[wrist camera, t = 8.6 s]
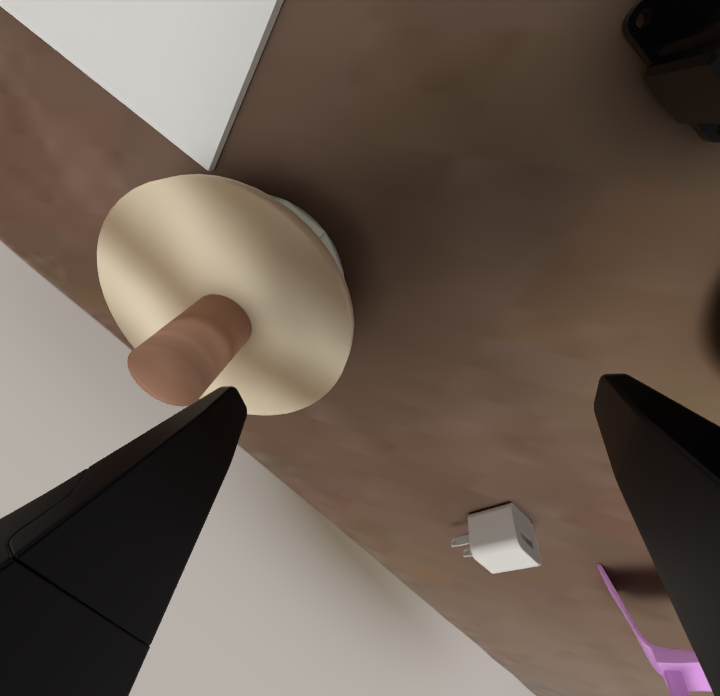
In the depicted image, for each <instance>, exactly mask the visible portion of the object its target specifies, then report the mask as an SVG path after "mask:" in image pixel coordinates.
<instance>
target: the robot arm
mask: <svg viewBox="0 0 720 696" xmlns="http://www.w3.org/2000/svg"><path fill="white" fill-rule="evenodd" d="M641 11H643V12H645V13H646V15H647V19H646V22H645V24H644V25H643V26H642V27H641V28H639V27H637V26H636V18H637V16H638V14H639V13H640V12H641ZM623 32H624V34H625V36H626V38H627V39H628V40H629V42H630V43H631V44H632V46H633V47H634V48H635V49H636V51H637V52H638V53H639V55H640V56H641V57H642V59H643V60H644V61H645V63H646V64H647V65H648V68H647V69H646V72H645V80H646V81H647V82H648V84H649V85H650V86H651V88H652V89H653V90H654V92H655V93H656V94H657V95H658V97H659V98H660V99H661V101H662V102H663V103H664V105H665V106H666V107H667V108H668V110H669V111H670V112H671V114H672V115H673V116H674V118H675V119H676V120H677V121H678V122H679V123H692V125H693V126H694V127H695V129H696V130H697V131H698V133H699V134H700V135H701V137H702V138H703V139H704V140H705V141H707V142H718V143H719V142H720V133H719V134H716V129H717V127H718V126H719V125H720V0H639V1H638V2H637V4H636V5H635V6H634V7H633V8H632V9H631V10H630V12H629V13H628V14H627V16H626V18H625V20H624V23H623ZM594 411H595V415H596V419H597V422H598V425H599V428H600V431H601V435H602V438H603V441H604V444H605V447H606V450H607V454H608V457H609V460H610V463H611V466H612V469H613V472H614V475H615V478H616V481H617V483H618V485H619V488H620V490H621V492H622V495H623V497H624V499H625V501H626V503H627V506H628V508H629V510H630V512H631V514H632V517H633V519H634V521H635V523H636V525H637V527H638V530H639V532H640V534H641V536H642V538H643V541H644V543H645V545H646V547H647V549H648V552H649V554H650V556H651V558H652V560H653V563H654V565H655V567H656V569H657V571H658V574H659V576H660V578H661V580H662V582H663V584H664V587H665V589H666V591H667V593H668V595H669V598H670V600H671V602H672V604H673V606H674V609H675V611H676V613H677V615H678V617H679V620H680V622H681V624H682V626H683V628H684V631H685V633H686V635H687V637H688V639H689V641H690V644H691V646H692V648H693V650H694V652H695V655H696V657H697V659H698V661H699V663H700V666H701V668H702V670H703V672H704V674H705V677H706V679H707V681H708V683H709V685H710V688H711V690H712V692H713V694H714V696H720V426H718V425H716V424H714V423H713V422H711V421H709V420H707V419H706V418H704V417H702V416H700V415H698V414H697V413H695V412H693V411H691V410H690V409H688V408H686V407H684V406H682V405H681V404H679V403H677V402H675V401H674V400H672V399H670V398H668V397H667V396H665V395H663V394H661V393H659V392H658V391H656V390H654V389H652V388H651V387H649V386H647V385H645V384H643V383H642V382H640V381H638V380H636V379H635V378H633V377H631V376H629V375H627V374H604V375H602V376H601V378H600V380H599V384H598V388H597V393H596V397H595V401H594ZM246 416H247V407H246V405H245V403H244V401H243V399H242V397H241V395H240V393H239V392H238V390H237V389H236V388H235V387H233V386H224V387H219V388H218V389H216V390H214V391H213V392H211V393H209V394H208V395H206V396H204V397H203V398H201V399H200V400H198V401H196V402H195V403H193V404H191V405H190V406H188V407H186V408H185V409H183V410H182V411H180V412H178V413H177V414H175V415H173V416H172V417H170V418H169V419H167V420H165V421H164V422H162V423H160V424H159V425H157V426H155V427H154V428H152V429H150V430H149V431H147V432H146V433H144V434H142V435H141V436H139V437H137V438H136V439H134V440H133V441H131V442H129V443H128V444H126V445H124V446H123V447H121V448H119V449H118V450H116V451H114V452H113V453H111V454H110V455H108V456H107V457H105V458H103V459H101V460H100V461H98V462H97V463H95V464H93V465H92V466H90V467H89V468H88V469H85V470H83V471H82V472H80V473H78V474H77V475H75V476H74V477H72V478H70V479H69V480H67V481H65V482H64V483H62V484H60V485H59V486H57V487H55V488H54V489H52V490H50V491H48V492H47V493H45V494H43V495H42V496H40V497H38V498H36V499H35V500H33V501H31V502H30V503H28V504H26V505H24V506H22V507H21V508H19V509H17V510H15V511H14V512H12V513H10V514H9V515H6V516H5V517H3V518H1V519H0V696H128V695H129V693H130V691H131V688H132V686H133V684H134V682H135V680H136V677H137V675H138V672H139V671H140V668H141V666H142V664H143V661H144V659H145V657H146V655H147V652H148V650H149V648H150V646H149V645H150V644H151V643H152V640H153V638H154V636H155V634H156V631H157V629H158V627H159V625H160V622H161V620H162V618H163V616H164V613H165V611H166V609H167V606H168V604H169V602H170V600H171V598H172V595H173V593H174V591H175V588H176V586H177V584H178V581H179V579H180V577H181V575H182V573H183V570H184V568H185V566H186V564H187V561H188V559H189V557H190V555H191V552H192V550H193V548H194V546H195V543H196V541H197V539H198V537H199V534H200V532H201V530H202V528H203V525H204V523H205V521H206V519H207V516H208V514H209V512H210V509H211V507H212V505H213V502H214V500H215V498H216V496H217V494H218V491H219V489H220V487H221V485H222V482H223V480H224V478H225V475H226V473H227V471H228V469H229V466H230V464H231V461H232V458H233V456H234V453H235V449H236V446H237V443H238V440H239V437H240V434H241V431H242V428H243V425H244V422H245V419H246Z"/></svg>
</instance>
